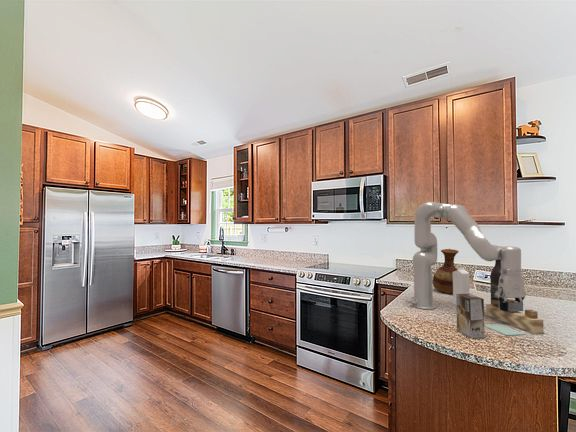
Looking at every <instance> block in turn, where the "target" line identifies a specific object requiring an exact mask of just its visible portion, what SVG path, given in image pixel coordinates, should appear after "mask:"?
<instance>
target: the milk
mask: <svg viewBox="0 0 576 432" xmlns="http://www.w3.org/2000/svg"><path fill="white" fill-rule="evenodd" d="M456 268H457V270H456V271H454V272H453V294H452V296H453V297H452V300H453V301H452V302H453V303H452V304H453V305H455V306H457V305H456V294H470V273H469V271H468V270H465V266H458V267H456Z"/></svg>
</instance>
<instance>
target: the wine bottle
mask: <svg viewBox="0 0 576 432" xmlns="http://www.w3.org/2000/svg"><path fill="white" fill-rule="evenodd" d="M494 261H495V262H494V266H493V268H492V269H491V272H490V278H489V279H490V280H489V281H490V304H492V300H497V301H498V299H497V297H496V296H495V293H496V292H497V291H498V284H499V278H500V275H501V273H500V271H501V260H494ZM503 299H504V297H503Z"/></svg>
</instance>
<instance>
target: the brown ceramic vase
mask: <svg viewBox="0 0 576 432" xmlns="http://www.w3.org/2000/svg"><path fill="white" fill-rule="evenodd" d="M440 252H441V253H442V254H443V255H444V262H443V264H442V266H440V267H438V269H436V271H435V272H434V274H433V276H432V283H433V289H435V290H437V291H440V292H442V293H446V294H452V295H453V272H454V271H456V270H457V268H458V267H456V266H455V257H456V255H457V254H458V253H459V250H457V249H451V248H446V249H440Z"/></svg>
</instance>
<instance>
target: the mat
mask: <svg viewBox="0 0 576 432" xmlns="http://www.w3.org/2000/svg"><path fill="white" fill-rule="evenodd" d="M484 328H487V329H490V330H492V331H493V332H494V331H495V332H497V333H499V334H502V335H504V336H506V337H510V336H511V337H512V336H513V337H514V336H525V335H526V333H524V332H521V331H519V330H516V329H514V328H511V327H509V326H506V325H504V324H501V323H494V324H493V323H492V324H484Z"/></svg>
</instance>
